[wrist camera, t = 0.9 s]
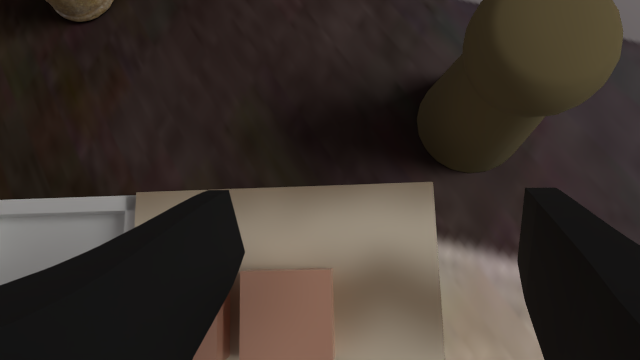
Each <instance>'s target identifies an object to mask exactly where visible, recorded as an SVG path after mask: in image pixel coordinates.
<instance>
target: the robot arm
mask: <svg viewBox="0 0 640 360" xmlns="http://www.w3.org/2000/svg"><path fill="white" fill-rule="evenodd" d="M244 254H245V250H244V246H243V242H242V238H241V234H240V230H239V227H238V223H237V219H236V215H235V211H234V208H233V204H232V200H231V196H230V192H229V190H207V191H205V192H202V193H200V194H197V195H195V196H193V197H191V198H189V199H187V200H185V201H183V202H181V203H179V204H178V205H176V206H174V207H172V208H170V209H168V210H166V211H165V212H163V213H161V214H159V215H157V216H155V217H154V218H152V219H150V220H148V221H146V222H144V223H143V224H141V225H139V226H137V227H135V228H133V229H131V230H129V231H127V232H125V233H123V234H121V235H119V236H117V237H115V238H113V239H112V240H110V241H108V242H106V243H104V244H102V245H100V246H98V247H95V248H93V249H91V250H89V251H87V252H85V253H82V254H80V255H78V256H76V257H73V258H71V259H69V260H66V261H64V262H61V263H59V264H57V265H54V266H52V267H49V268H47V269H44V270H41V271H39V272H36V273H33V274H30V275H28V276H25V277H22V278H19V279H16V280H14V281H11V282H8V283H5V284H2V285H0V360H192V359H193V357H194V356H195V354H196V352H197V350H198V348H199V347H200V345H201V343H202V341H203V339H204V337H205V336H206V334H207V332H208V330H209V328H210V327H211V325H212V323H213V321H214V319H215V318H216V316H217V314H218V312H219V310H220V309H221V307H222V305H223V303H224V301H225V299H226V297H227V296H228V294H229V292H230V290H231V288H232V286H233V284H234V282H235V279H236V276H237V274H238V271H239V269H240V266H241V263H242V260H243V257H244ZM518 267H519V273H520V278H521V284H522V289H523V294H524V299H525V302H526V306H527V309H528V312H529V315H530V318H531V321H532V324H533V327H534V330H535V333H536V336H537V339H538V342H539V345H540V348H541V351H542V354H543V357H544V359H545V360H640V245H638V244H637V243H635V242H634V241H632V240H630V239H629V238H627V237H626V236H624V235H623V234H621V233H620V232H619V231H617V230H616V229H614V228H613V227H611V226H610V225H608V224H607V223H605V222H604V221H603V220H601V219H600V218H598V217H597V216H596V215H594V214H593V213H591V212H590V211H589V210H587V209H586V208H584V207H583V206H582V205H580V204H579V203H578V202H576V201H575V200H573V199H572V198H571V197H569V196H568V195H566V194H565V193H563V192H562V191H560V190H559V189H557V188H525V195H524V205H523V214H522V223H521V233H520V242H519V252H518Z"/></svg>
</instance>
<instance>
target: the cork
mask: <svg viewBox="0 0 640 360" xmlns="http://www.w3.org/2000/svg"><path fill="white" fill-rule="evenodd" d="M622 40H623V28H622V23H621V19H620V14H619V10H618V9H617V7H616V6H615V4H614V2H613V1H612V0H483V1H482V2H481V3H480V5H479V6H478V8H477V10H476V11H475V13H474V15H473V16H472V18H471V20H470V22H469V24H468V26H467V29H466V33H465V38H464V43H463V54H462V55H461V56H460V57H459V58H458V59H457V60H456V61H455V62H454V63H453V64H452V65H451V67H450V68H449V69H448V70H447V71H446V72H445V73H444V74H443V75H442V76H441V77H440V78H439V79H438V81H437V82H436V83H435V84H434V85H433V86H432V87H431V88H430V89H429V90H428V92H427V93H426V95H425V96H424V98H423V100H422V101H421V103H420V106H419V111H418V115H417V126H418V134H419V137H420V139H421V141H422V143H423V145H424V147H425V149H426V150H427V151H428V152H429V153H430V154H431V156H432V157H433V158H434V159H435V160H436V161H437V162H439V163H441V164H443V165H445V166H446V167H448V168H450V169H452V170H457V171H461V172H466V173H474V172H485V171H488V170H490V169H492V168H495V167H497V166H500V165H501V164H502V163H504V162H505V161H506V160H507V159H508V158H509V157H510V156H512V155H513V154H514V152H515V151H516V150H517V149H518V148H519V147H520V145H521V144H522V143H523V142H524V141H525V140H526V138H527V137H528V136H529V135H530V134H531V133H532V131H533V130H534V129H535V128H536V127H537V126H538V124H539V123H540V122H541V121H542V120H543V119H544V117H545V116H550V115H557V114H559V113H561V112H564V111H566V110H569V109H571V108H573V107H576V106H578V105H580V104H581V103H583V102H585V101H586V100H587V99H589V98H590V97H591V96H592V95H593V94H594V93H595V92H597V91H598V90H599V89H600V88H601V87H602V86H603V85H604V84H605V83H606V81H607V80H608V78H609V77H610V75H611V73H612V71H613V70H614V68H615V66H616V64H617V62H618V61H619V59H620V54H621V47H622Z"/></svg>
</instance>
